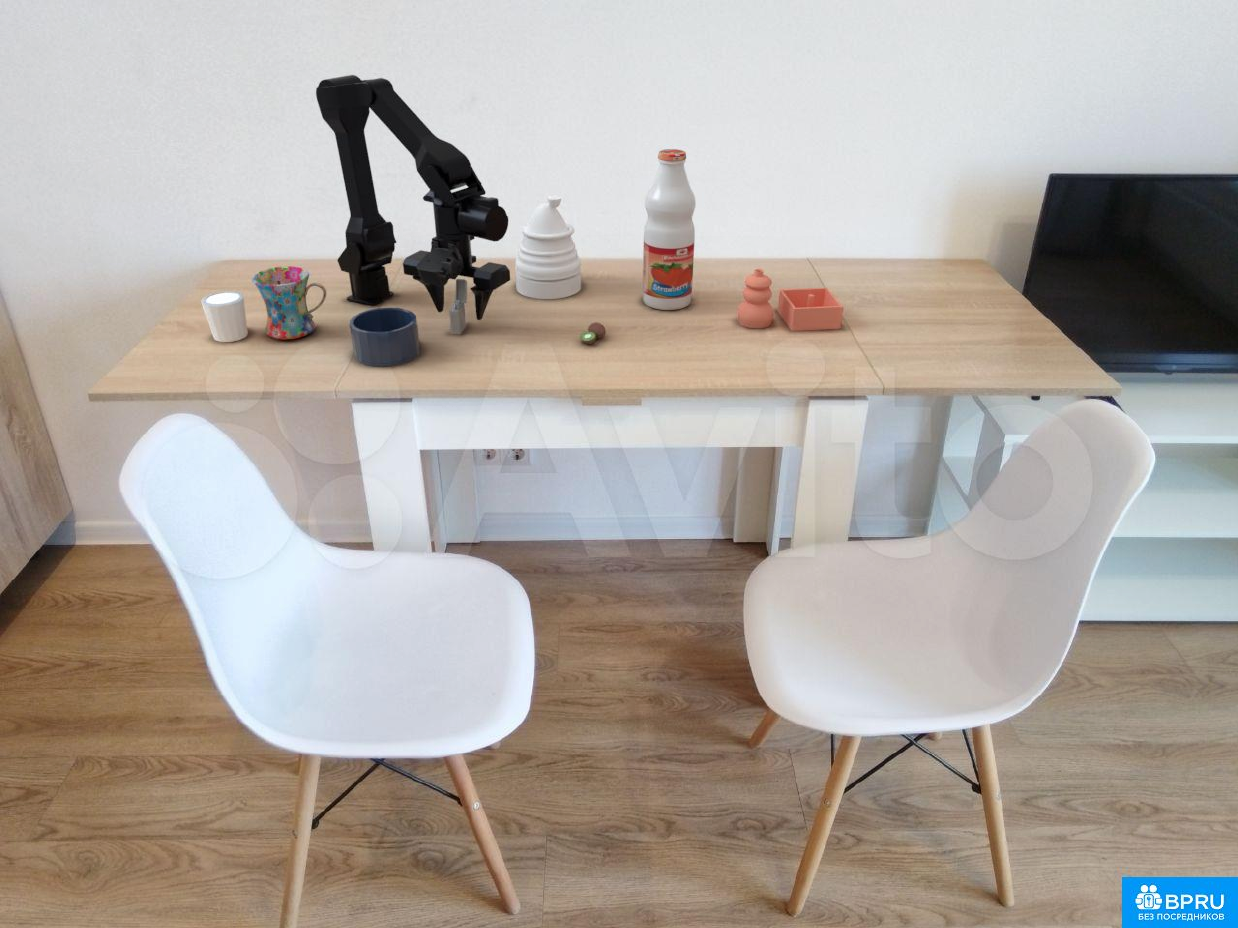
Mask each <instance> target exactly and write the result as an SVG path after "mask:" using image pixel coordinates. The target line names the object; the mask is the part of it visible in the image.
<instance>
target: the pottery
mask: <svg viewBox="0 0 1238 928" xmlns="http://www.w3.org/2000/svg"><path fill="white" fill-rule="evenodd" d="M764 272H765V271H764V269H762V268H755V269H754V273H752V274H749V275H747V276H746V277H745V278H744V280H743V283H744V285H745V287H743V290H742V298H743V301H742V302H741V303H740V304H739V305H738V307H737V311H736V315H737V316H736V317H737V322H738V324H739V325H741V326H742V327H745V328H749V329H763V328H767V327H770V325H771V324H772V322H773V321H772V320H773V319H774V309H773V306H772V304H771V303H770V302H769V301H770V300H771V298H772V290H771V288H770V287H771V285H772V284H773V282H772V279H771V277H769V276H768V275H766V274H764ZM777 303H778V304H777V312H778V314H779V316H781V318H782V319H783V321H784V322H785V324H786V325H787V327H788V328H789V329H790V331H792V332H796V331H798V332H799V331H820V330H822V331H823V330H839V329H841V327H842V320H843V313H844V305H843V304H842V303H841V302H840V301H839V299H837V297H835V295H834V293H832V292H831V291H830V289H829V288H828V287H809V288H787V289H785V288H784V289H779V293H778V302H777Z"/></svg>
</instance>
